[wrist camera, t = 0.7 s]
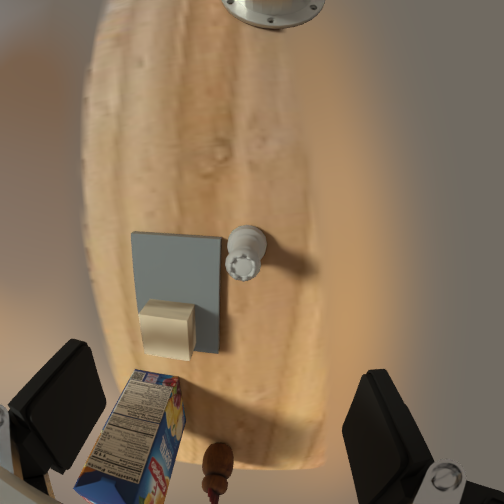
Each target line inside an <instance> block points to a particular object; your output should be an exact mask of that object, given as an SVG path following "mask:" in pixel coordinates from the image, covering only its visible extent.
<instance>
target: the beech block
mask: <svg viewBox="0 0 504 504" xmlns="http://www.w3.org/2000/svg"><path fill="white" fill-rule="evenodd" d="M138 315H139V322H140V329H141V335H142V341H143V347H144V353H145V354H148V355H154V356H160V357H166V358H172V359H178V360H185V361H190V359H191V356H192V353H193V350H194V348H195V345H196V326H195V304H190V303H181V302H172V301H164V300H156V299H149V301H148V302H147V303H146V305H145V306H144V307H143V309H142V310H141V311H140V313H139V314H138Z"/></svg>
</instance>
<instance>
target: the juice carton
mask: <svg viewBox="0 0 504 504" xmlns="http://www.w3.org/2000/svg"><path fill="white" fill-rule="evenodd" d="M185 423H186V418H185V412H184V407H183V401H182V395H181V389H180V382H179V377H178V376H171V375H165V374H159V373H153V372H148V371H143V370H137V369H135V370H134V372H133V374H132V375H131V377H130V379H129V381H128V383H127V384H126V386H125V388H124V390H123V392H122V394H121V395H120V397H119V399H118V401H117V403H116V405H115V407H114V408H113V411H112V412H111V414H110V416H109V418H108V420H107V422H106V424H105V426H104V428H103V430H102V431H101V433H100V436H99V437H98V439H97V441H96V443H95V446H94V447H93V449H92V451H91V453H90V455H89V457H88V459H87V461H86V463H85V465H84V467H83V470H82V472H81V474H80V476H79V478H78V480H77V482H76V484H75V486H74V488H73V489H74V490H75V491H76V492H77V493H78V494H79V495H80V496H82V497H83V498H84V499H85V500H86V501H87V502H88V503H89V504H164V501H165V497H166V493H167V489H168V485H169V482H170V478H171V474H172V470H173V467H174V463H175V459H176V456H177V452H178V448H179V445H180V441H181V438H182V434H183V430H184V427H185Z"/></svg>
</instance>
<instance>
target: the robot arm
mask: <svg viewBox="0 0 504 504" xmlns="http://www.w3.org/2000/svg"><path fill="white" fill-rule="evenodd" d="M222 2H223V5H224V7H225V8H226V9H227V10H228V12H229V13H230V14H232V15H233V16H234V17H235V18H237V19H239V20H241V21H242V22H245V23H247V24H250V25H253V26H257V27H262V28H271V29H283V28H290V27H295V26H298V25H302V24H304V23H306V22H308V21H310V20H312V19H313V18H314V17H315V16H317V15H318V13H319V12H320V11H321V10H322V7H323V5H324V3H325V0H222ZM230 4H231V5H230ZM312 9H313V10H312ZM269 22H272V23H269ZM8 406H9V407H10V410H9V411H7V409H6V408H5V407H4V406H3V405H0V504H63V503H61V502H59V501H57V500H55V496H54V493H53V490H52V486H51V483H50V479H49V475H48V470H49V469H50V468H51V469H53V470H55V471H56V472H59V473H60V474H62V475H63V474H64V472H65V470H68V469H70V467H71V466H72V464H73V462H74V461H75V459H76V457H77V455H78V453H79V452H80V450H81V448H82V446H83V445H84V443H85V441H86V439H87V438H88V436H89V434H90V433H91V431H92V429H93V427H94V426H95V424H96V422H97V421H98V419H99V417H100V416H101V414H102V412H103V411H104V409H105V406H106V398H105V395H104V392H103V389H102V386H101V383H100V379H99V376H98V373H97V369H96V366H95V362H94V359H93V355H92V351H91V349H90V347H88V345H87V343H86V342H84V341H79V340H76V339H70V340H69V341H68V342H67V343H66V344H65V345H64V346H63V347H62V348H61V349H60V350H59V351H58V352H57V353H56V354H55V355H54V356H53V357H52V358H51V359H50V360H49V361H48V362H47V363H46V364H45V365H44V366H43V367H42V368H41V369H40V370H39V371H38V372H37V373H36V374H35V375H34V377H32V379H31V380H30V381H29V382H28V383H27V384H26V385H25V386H24V387H23V388H22V389H21V390H20V391H19V393H18V394H17V395H16V396H15V397H14V398H13V399H12V401H10V403H9V404H8ZM342 434H343V438H344V442H345V446H346V450H347V454H348V459H349V463H350V467H351V471H352V476H353V480H354V484H355V489H356V493H357V497H358V502H359V504H504V493H503V492H501V491H499V490H495V489H492V488H488V487H485V486H482V485H479V484H476V483H473V482H470V481H467V480H466V472H465V470H464V468H463V467H462V466H461V465H460V464H459V463H458V462H456V461H454V460H451V459H441V460H438V461H436V462H434V460H433V457H432V455H431V453H430V451H429V449H428V447H427V445H426V443H425V441H424V438H423V436H422V435H421V432H420V431H419V428H418V426H417V424H416V422H415V421H414V419H413V417H412V415H411V413H410V411H409V409H408V407H407V406H406V404H404V402H403V400H402V398H401V396H400V394H399V392H398V391H397V389H396V387H395V385H394V383H393V381H392V380H391V378H390V376H389V374H388V372H387V371H386V370H385V369H375V370H368V372H367V373H366V374H363V375H362V377H361V380H360V383H359V385H358V388H357V391H356V394H355V396H354V399H353V402H352V404H351V407H350V409H349V412H348V414H347V416H346V419H345V421H344V423H343V427H342Z"/></svg>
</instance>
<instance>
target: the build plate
mask: <svg viewBox="0 0 504 504" xmlns="http://www.w3.org/2000/svg"><path fill="white" fill-rule="evenodd" d="M221 239H222V237H214V236H200V235H185V234H169V233H153V232H136V231H134V232H132V233H131V244H132V258H133V270H134V281H135V290H136V299H137V307H138V314H139V313H140V311H141V310H142V309H143V307H144V306H145V305H146V303H147V302H148V301H149V299H156V300H164V301H172V302H181V303H190V304H195V326H196V345H195V348H194V350H193V351H199V352H207V353H216V354H218V353H219V323H220V271H221Z"/></svg>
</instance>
